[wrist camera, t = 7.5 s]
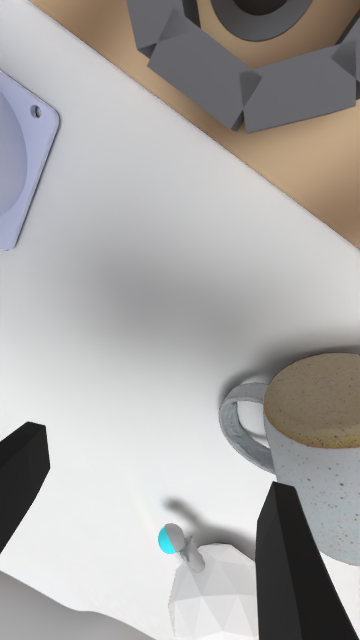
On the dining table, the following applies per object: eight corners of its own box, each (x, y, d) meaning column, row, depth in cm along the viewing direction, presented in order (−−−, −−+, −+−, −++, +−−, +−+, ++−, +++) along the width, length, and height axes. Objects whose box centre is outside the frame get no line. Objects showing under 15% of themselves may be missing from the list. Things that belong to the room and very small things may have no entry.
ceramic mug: (390, 331, 18) (462, 442, 11) (403, 441, 21) (465, 577, 14) (205, 363, 21) (179, 462, 15) (239, 453, 24) (230, 567, 18)
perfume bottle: (197, 633, 30) (113, 540, 29) (264, 565, 32) (187, 472, 30) (230, 740, 23) (116, 621, 21) (316, 644, 24) (217, 525, 22)
